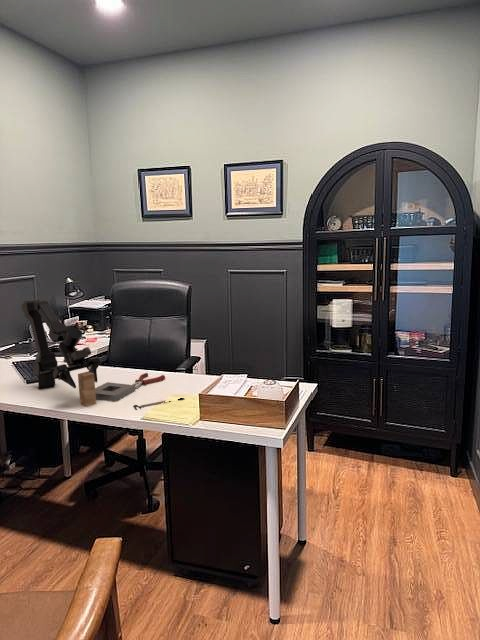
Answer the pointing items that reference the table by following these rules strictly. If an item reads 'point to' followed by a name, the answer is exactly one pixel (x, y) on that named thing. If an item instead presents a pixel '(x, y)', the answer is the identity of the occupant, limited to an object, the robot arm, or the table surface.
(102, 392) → the post plate
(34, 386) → the table surface
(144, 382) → the pliers
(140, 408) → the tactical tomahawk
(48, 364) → the robot arm
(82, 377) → the walnut peg
